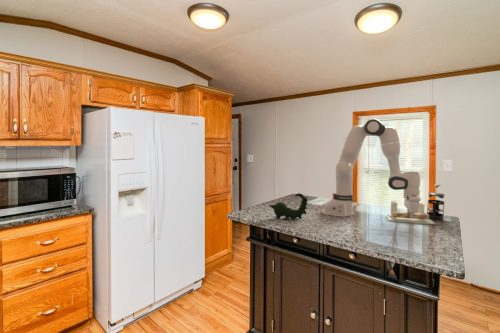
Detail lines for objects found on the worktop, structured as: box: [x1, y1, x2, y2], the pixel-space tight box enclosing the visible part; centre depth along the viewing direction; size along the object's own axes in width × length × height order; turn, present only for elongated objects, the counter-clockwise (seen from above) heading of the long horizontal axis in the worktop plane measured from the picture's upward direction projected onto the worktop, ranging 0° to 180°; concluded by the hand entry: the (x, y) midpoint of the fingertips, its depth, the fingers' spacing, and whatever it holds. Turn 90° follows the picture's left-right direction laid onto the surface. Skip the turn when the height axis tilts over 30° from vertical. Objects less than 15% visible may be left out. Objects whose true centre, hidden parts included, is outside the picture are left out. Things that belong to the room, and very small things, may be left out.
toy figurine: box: [269, 192, 308, 220], centre depth 180 cm, size 9×19×25 cm
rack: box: [388, 200, 426, 217], centre depth 182 cm, size 22×5×10 cm, turn 72°
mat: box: [386, 216, 436, 225], centre depth 174 cm, size 26×8×1 cm, turn 72°
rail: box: [393, 211, 430, 220], centre depth 173 cm, size 20×3×3 cm, turn 72°
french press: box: [426, 184, 446, 222], centre depth 177 cm, size 12×9×23 cm
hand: (410, 216), depth 173 cm, fingers closed on rail, 3 cm apart
